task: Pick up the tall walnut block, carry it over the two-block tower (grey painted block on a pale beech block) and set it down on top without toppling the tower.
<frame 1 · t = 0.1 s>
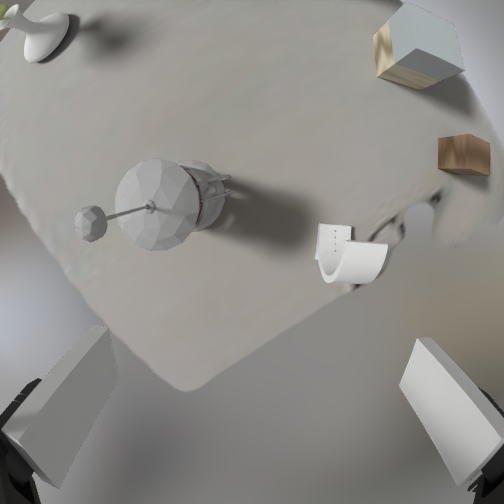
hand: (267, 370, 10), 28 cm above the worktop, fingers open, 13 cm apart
french press: (195, 194, 36), on the worktop
walnut block: (448, 156, 34), on the worktop
grey block: (415, 49, 25), point 6 cm above the worktop, touching beech block
flower in vase: (49, 43, 28), on the worktop
white curved piece: (331, 245, 38), on the worktop
beech block: (397, 62, 30), on the worktop, touching grey block
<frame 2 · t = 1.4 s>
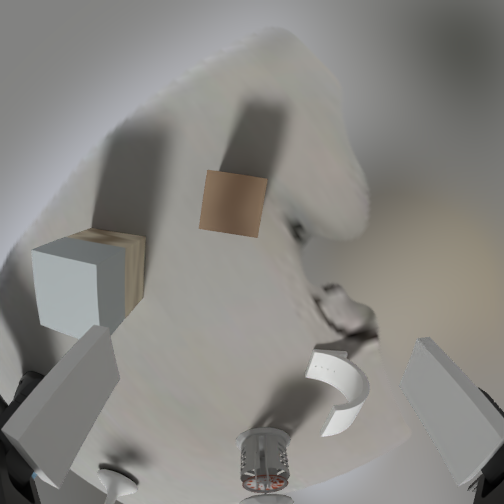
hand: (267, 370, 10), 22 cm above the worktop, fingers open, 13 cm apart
french press: (262, 439, 40), on the worktop
walnut block: (236, 198, 30), on the worktop
grey block: (93, 277, 26), point 6 cm above the worktop
flower in vase: (122, 477, 46), on the worktop
white curved piece: (328, 362, 36), on the worktop
beech block: (116, 262, 32), on the worktop
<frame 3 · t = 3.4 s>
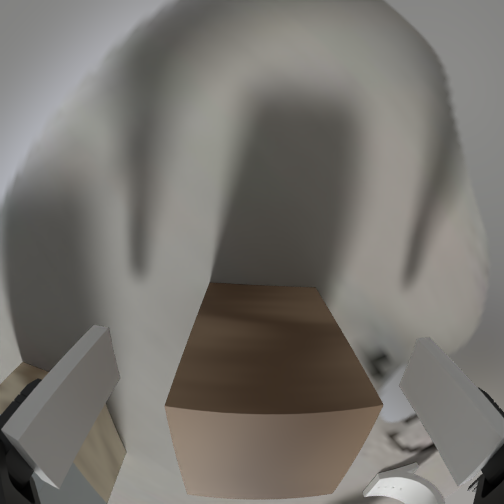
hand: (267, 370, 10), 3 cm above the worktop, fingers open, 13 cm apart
walnut block: (259, 331, 14), on the worktop
grey block: (42, 460, 10), point 6 cm above the worktop, touching beech block
white curved piece: (393, 475, 19), on the worktop
beech block: (73, 411, 16), on the worktop, touching grey block
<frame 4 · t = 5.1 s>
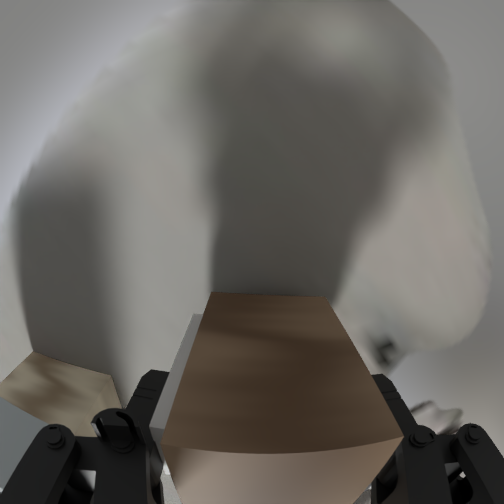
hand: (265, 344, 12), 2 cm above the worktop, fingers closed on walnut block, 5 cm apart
walnut block: (265, 343, 12), point 2 cm above the worktop, touching gripper
grey block: (51, 449, 11), point 6 cm above the worktop, touching beech block
beech block: (82, 400, 17), on the worktop, touching grey block
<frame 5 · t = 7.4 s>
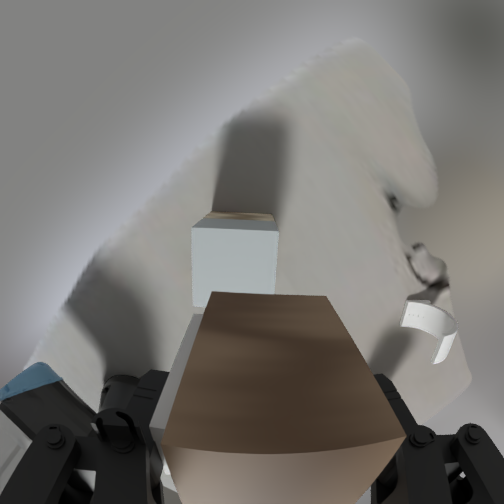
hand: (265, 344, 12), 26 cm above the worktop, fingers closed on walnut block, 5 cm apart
walnut block: (265, 342, 12), point 26 cm above the worktop, touching gripper
grey block: (237, 254, 32), point 6 cm above the worktop, touching beech block
white curved piece: (415, 311, 40), on the worktop
beech block: (240, 241, 38), on the worktop, touching grey block
when the fingers open (13 cm above the worktop, at t = 9.7 s): walnut block stays where it is, resting on grey block.
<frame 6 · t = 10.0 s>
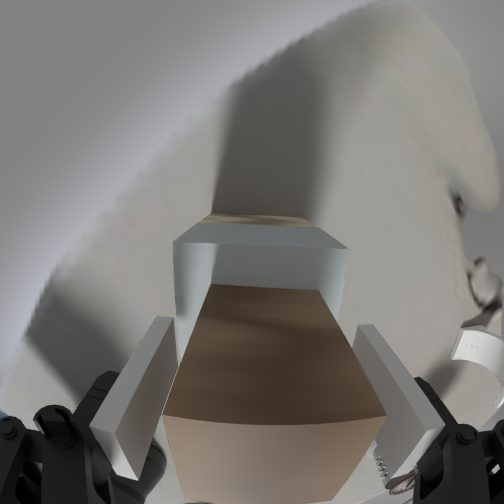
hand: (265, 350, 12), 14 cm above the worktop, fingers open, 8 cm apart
french press: (393, 438, 32), on the worktop
walnut block: (260, 334, 13), point 12 cm above the worktop, touching grey block
grey block: (256, 282, 19), point 6 cm above the worktop, touching beech block, walnut block
white curved piece: (467, 339, 28), on the worktop
beech block: (255, 259, 25), on the worktop, touching grey block
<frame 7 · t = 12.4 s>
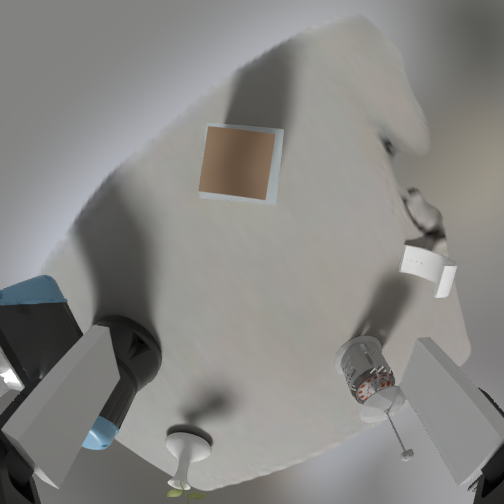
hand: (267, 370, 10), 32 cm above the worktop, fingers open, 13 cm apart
french press: (358, 352, 47), on the worktop
walnut block: (242, 167, 27), point 12 cm above the worktop, touching grey block
grey block: (243, 166, 33), point 6 cm above the worktop, touching beech block, walnut block
flower in vase: (192, 441, 54), on the worktop
white curved piece: (414, 259, 42), on the worktop
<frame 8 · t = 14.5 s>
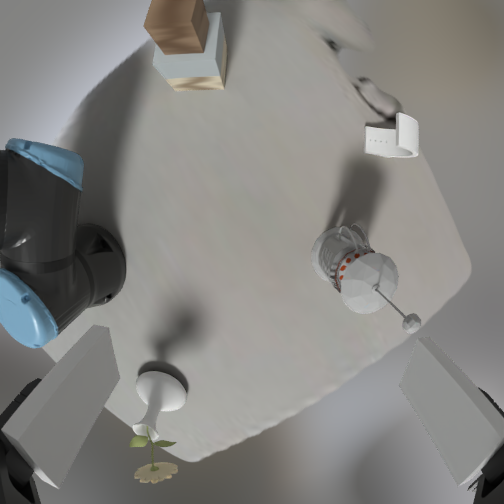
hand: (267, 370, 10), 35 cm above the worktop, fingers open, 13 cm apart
french press: (338, 250, 45), on the worktop
walnut block: (187, 38, 26), point 12 cm above the worktop, touching grey block
grey block: (195, 54, 31), point 6 cm above the worktop, touching beech block, walnut block
flower in vase: (166, 386, 52), on the worktop
white curved piece: (379, 143, 40), on the worktop
beech block: (201, 69, 37), on the worktop, touching grey block
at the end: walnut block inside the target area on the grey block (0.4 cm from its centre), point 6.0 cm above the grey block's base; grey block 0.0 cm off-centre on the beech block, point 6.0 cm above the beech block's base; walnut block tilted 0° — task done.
